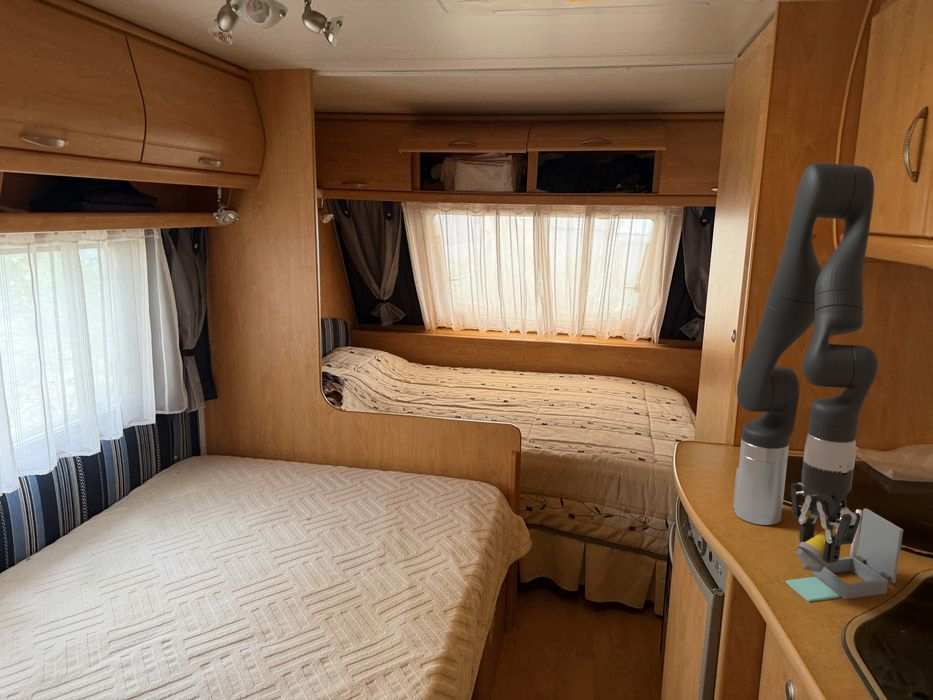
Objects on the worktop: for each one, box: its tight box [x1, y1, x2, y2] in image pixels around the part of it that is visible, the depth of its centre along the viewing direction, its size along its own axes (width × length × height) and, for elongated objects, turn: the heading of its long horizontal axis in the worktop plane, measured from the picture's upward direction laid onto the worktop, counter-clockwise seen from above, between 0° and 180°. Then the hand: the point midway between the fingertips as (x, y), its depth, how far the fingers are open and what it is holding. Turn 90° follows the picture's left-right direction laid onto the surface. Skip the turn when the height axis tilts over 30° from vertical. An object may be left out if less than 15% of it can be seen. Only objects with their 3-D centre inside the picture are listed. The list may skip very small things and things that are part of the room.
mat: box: [785, 576, 840, 603], centre depth 116 cm, size 6×6×1 cm
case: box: [811, 507, 904, 600], centre depth 118 cm, size 10×10×12 cm
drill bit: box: [795, 528, 836, 572], centre depth 115 cm, size 5×5×10 cm
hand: (818, 552), depth 115 cm, fingers closed on drill bit, 5 cm apart
